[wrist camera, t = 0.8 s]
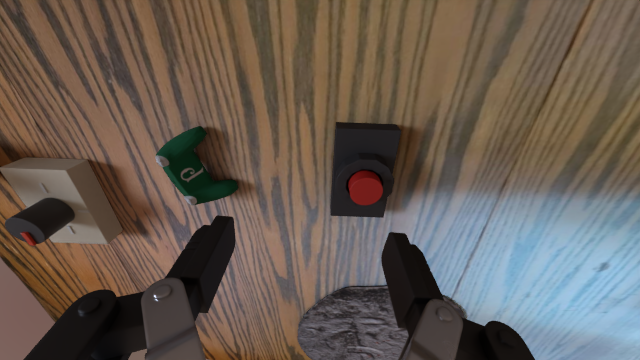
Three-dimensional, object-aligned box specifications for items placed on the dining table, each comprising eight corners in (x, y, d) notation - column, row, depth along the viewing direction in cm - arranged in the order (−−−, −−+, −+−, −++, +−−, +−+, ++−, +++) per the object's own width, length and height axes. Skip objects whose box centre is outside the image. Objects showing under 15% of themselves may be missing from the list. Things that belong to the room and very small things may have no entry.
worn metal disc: (299, 372, 60) (299, 374, 60) (295, 281, 42) (295, 283, 42) (433, 376, 60) (434, 378, 60) (485, 287, 42) (486, 289, 42)
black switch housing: (335, 122, 28) (337, 134, 24) (396, 124, 28) (406, 136, 24) (330, 205, 34) (330, 224, 31) (380, 207, 34) (386, 226, 31)
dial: (33, 196, 30) (-7, 219, 27) (65, 198, 30) (29, 220, 27) (50, 221, 32) (15, 245, 29) (80, 222, 32) (49, 246, 29)
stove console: (24, 157, 31) (-5, 168, 28) (88, 159, 31) (65, 171, 28) (70, 228, 37) (50, 243, 34) (124, 230, 37) (107, 245, 34)
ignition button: (349, 169, 27) (351, 177, 25) (382, 170, 27) (385, 178, 25) (347, 196, 29) (348, 204, 27) (377, 197, 29) (380, 206, 27)
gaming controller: (194, 124, 30) (145, 147, 27) (203, 124, 27) (149, 150, 24) (231, 183, 35) (192, 209, 32) (242, 189, 32) (200, 217, 29)
